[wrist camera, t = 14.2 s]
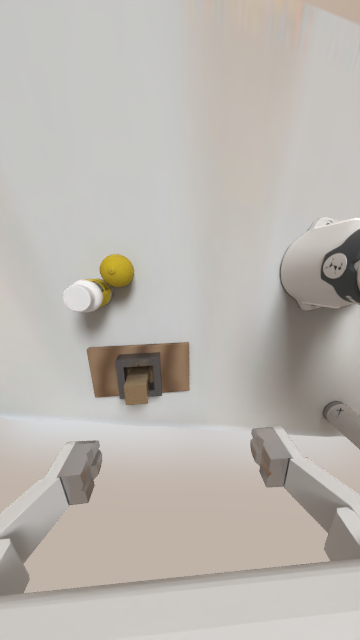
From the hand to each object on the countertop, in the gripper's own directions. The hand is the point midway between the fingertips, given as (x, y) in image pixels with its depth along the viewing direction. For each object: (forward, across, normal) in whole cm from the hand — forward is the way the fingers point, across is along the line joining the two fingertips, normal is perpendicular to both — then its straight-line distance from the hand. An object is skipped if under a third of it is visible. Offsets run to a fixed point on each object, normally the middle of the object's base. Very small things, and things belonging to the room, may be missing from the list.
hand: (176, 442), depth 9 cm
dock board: (+29, +8, +13) cm, 33 cm away
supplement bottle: (+30, +14, -5) cm, 33 cm away
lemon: (+30, +9, -9) cm, 32 cm away
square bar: (+28, +8, +13) cm, 32 cm away
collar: (+28, +8, +13) cm, 32 cm away
